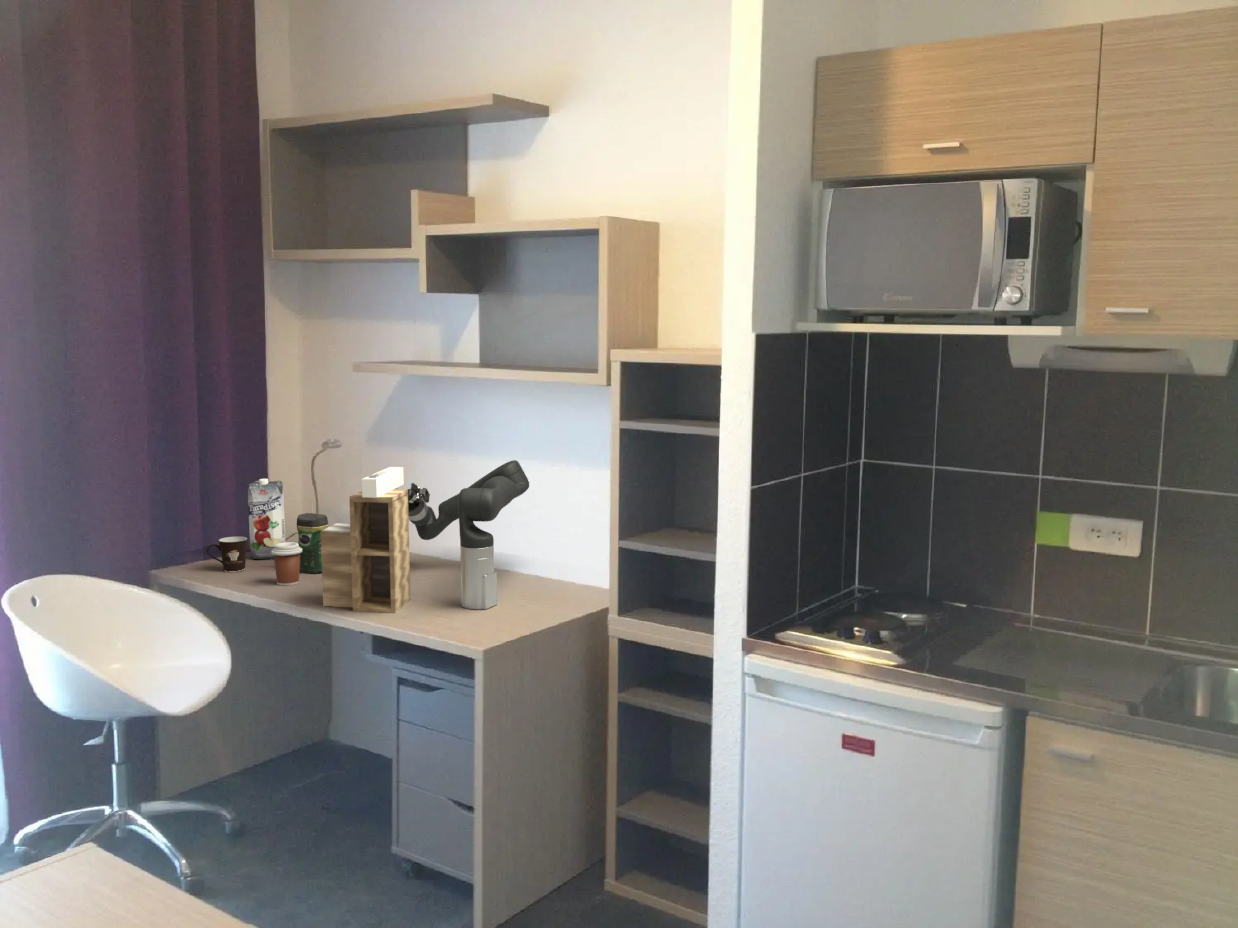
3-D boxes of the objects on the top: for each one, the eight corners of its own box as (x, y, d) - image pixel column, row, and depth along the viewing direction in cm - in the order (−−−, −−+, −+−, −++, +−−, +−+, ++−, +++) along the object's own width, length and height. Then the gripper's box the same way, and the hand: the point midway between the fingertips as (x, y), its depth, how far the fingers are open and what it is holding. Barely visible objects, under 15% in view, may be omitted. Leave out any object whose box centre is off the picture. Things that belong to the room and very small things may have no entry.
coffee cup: (306, 579, 334) (305, 541, 333) (300, 586, 325) (298, 547, 324) (276, 579, 334) (274, 541, 332) (269, 586, 325) (267, 547, 323)
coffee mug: (253, 567, 350) (251, 536, 349) (241, 573, 342) (239, 542, 341) (218, 566, 352) (217, 536, 350) (206, 572, 343) (204, 541, 342)
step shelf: (338, 595, 315) (335, 486, 311) (412, 597, 312) (409, 488, 308) (317, 610, 299) (313, 495, 295) (395, 612, 297) (392, 497, 292)
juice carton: (256, 554, 369) (252, 476, 365) (287, 554, 369) (284, 476, 366) (248, 560, 360) (245, 480, 356) (281, 560, 360) (277, 480, 357)
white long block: (390, 483, 316) (389, 465, 315) (403, 484, 316) (403, 465, 315) (362, 497, 292) (361, 477, 292) (376, 497, 292) (376, 477, 291)
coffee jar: (334, 569, 347) (332, 512, 344) (316, 575, 340) (314, 516, 337) (311, 566, 351) (309, 510, 349) (293, 571, 344) (291, 514, 342)
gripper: (391, 493, 334) (376, 473, 319) (436, 494, 332) (423, 474, 317) (388, 516, 331) (372, 497, 316) (433, 517, 329) (420, 498, 314)
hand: (398, 485), depth 317 cm, fingers open, 8 cm apart
